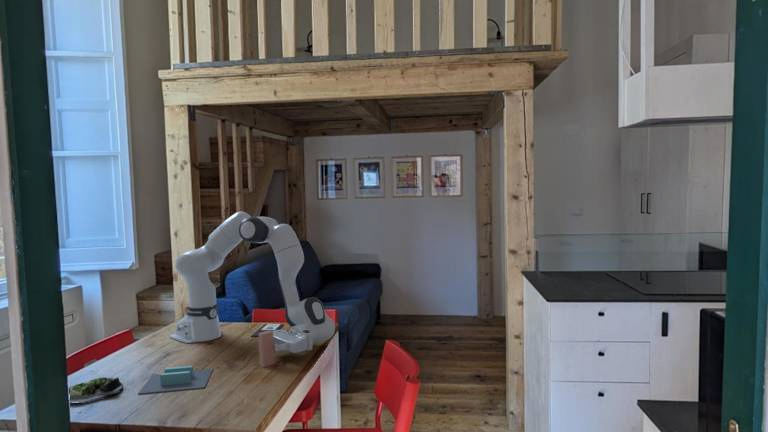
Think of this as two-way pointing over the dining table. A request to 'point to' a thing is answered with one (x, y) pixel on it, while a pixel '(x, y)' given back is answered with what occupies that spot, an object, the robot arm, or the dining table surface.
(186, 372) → the slotted rack
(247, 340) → the dining table surface
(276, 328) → the chocolate bar
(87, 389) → the salad plate
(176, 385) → the mat
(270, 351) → the salmon orange block
